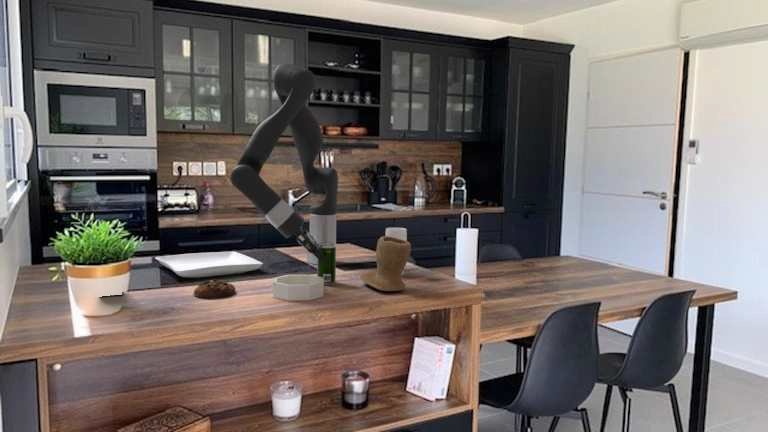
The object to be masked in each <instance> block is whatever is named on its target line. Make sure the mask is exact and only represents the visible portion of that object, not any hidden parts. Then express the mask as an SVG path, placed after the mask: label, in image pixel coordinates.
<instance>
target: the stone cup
mask: <svg viewBox="0 0 768 432" xmlns="http://www.w3.org/2000/svg"><path fill="white" fill-rule="evenodd" d="M375 251H376V252H375V259H376V260H375V261H376V266H377V267H376V271H370V272H364V273H362V274H360V275H359V276H358V278H359V280H361V281H362V282H363V283H365V284H367V285H368V286H370V287H372V288H374V289H375V290H378V291H383V292H399V291H403V290H405V289H406V288H407V286H406V284H405V283H404V282H403V280H402V276H403V275H402V272H403V270H404V269H405V267H406V266H407V263H408V261H409V258H410V255H411V251H412V245H411V243H410V242H409V241H405V240H402V239H397V238H394V237H388V236H384V235H383V236H381V237H379V239H378V241H377V244H376V250H375Z"/></svg>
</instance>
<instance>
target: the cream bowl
mask: <svg viewBox="0 0 768 432" xmlns="http://www.w3.org/2000/svg"><path fill="white" fill-rule="evenodd" d="M324 286H325V285H324V281H323V278H322V277H318V276H317V275H314V274H285V275H281V276H277V277H276V276H275V277H273V279H272V298H275V299H280V300H283V301H287V302H288V301H289V302H293V301H311V300H316V299H319V298H321V297H324V295H325V294H324Z"/></svg>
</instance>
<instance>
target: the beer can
mask: <svg viewBox="0 0 768 432" xmlns="http://www.w3.org/2000/svg"><path fill="white" fill-rule="evenodd" d="M318 244H319V245H318V248H319V249H320V250H321V251H322V252H323V253H324V254H325V255H326V256H327V258H326V259H325V260H324V261H323V262H321V261H320V260H319V259H317V264H316V265H317V266H316V267H317V268H316V269H317V271H316V276H318V277H322V278H323V281H324V286H331V285H335V283H336V277H337V275H336V274H337V273H336V272H337V271H336V268H337V267H336V265H337V262H336V261H337V260H336V259H337V245H336V246H335V243H333V242H320V243H318Z"/></svg>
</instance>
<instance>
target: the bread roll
mask: <svg viewBox="0 0 768 432" xmlns="http://www.w3.org/2000/svg"><path fill="white" fill-rule="evenodd" d="M235 291H236V287H235V285H233V284H232V283H230V282H226V281H225V280H223V279H221V280H218V279H216V278H214V279H211V280H205V281H203V282H200V284H198V285H197V287H195V288H194V290H193V295H194V296H195V297H196V298H202V299H209V300H210V299H211V300H212V299H213V300H214V298H216V299H224V298H223V297H226V298H228V296H229V297H230V296H233V295H234V294H235ZM232 294H233V295H232Z"/></svg>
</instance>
